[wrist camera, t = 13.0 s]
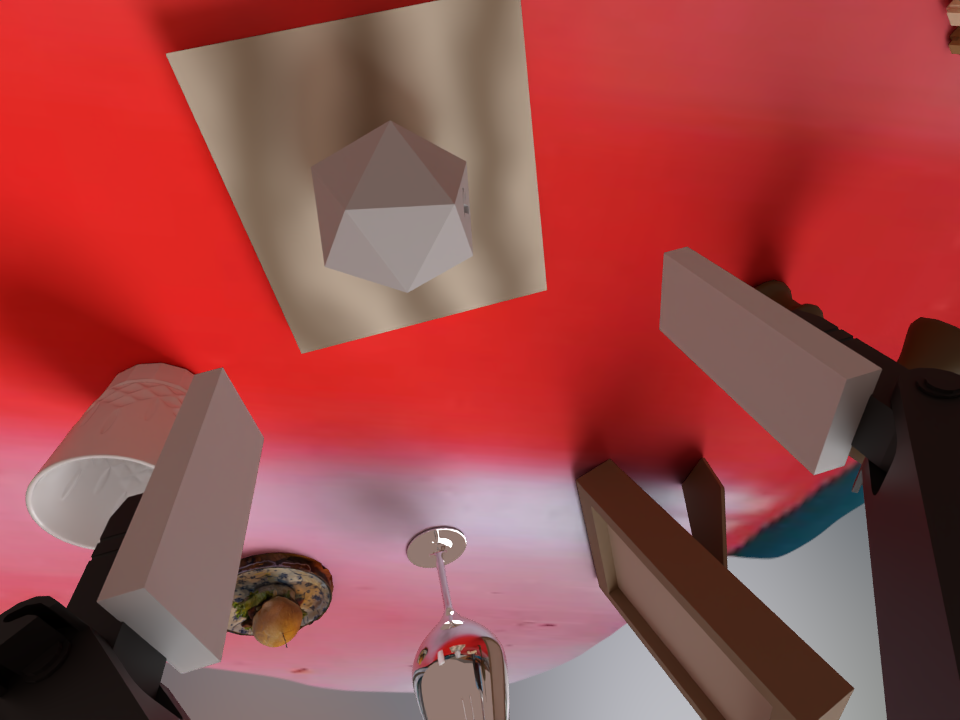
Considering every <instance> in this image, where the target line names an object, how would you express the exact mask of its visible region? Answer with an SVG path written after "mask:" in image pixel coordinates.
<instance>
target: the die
mask: <svg viewBox="0 0 960 720" xmlns="http://www.w3.org/2000/svg"><path fill="white" fill-rule="evenodd" d="M311 171H312V178H313V186H314V193H315V200H316V208H317V215H318V222H319V229H320V237H321V244H322V251H323V259H324V266H325V267H327V268H330V269H333V270H336V271H340V272H343V273H346V274H349V275H352V276H355V277H359V278H362V279H365V280H368V281H371V282H374V283H378V284H381V285H384V286H387V287H390V288H393V289H397V290H400V291H403V292H406V293H408V292H410V291H412V290H413V289H415V288H417V287H419V286H421V285H422V284H424V283H426V282H428V281H429V280H431V279H433V278H435V277H437V276H438V275H440V274H442V273H444V272H445V271H447V270H449V269H451V268H452V267H454V266H456V265H458V264H460V263H461V262H463V261H465V260H467V259H468V258H470V257H472V256H473V246H472V232H471V217H470V203H469V189H468V174H467V162H466V161H465V160H463V159H461V158H459V157H457V156H455V155H453V154H452V153H450V152H448V151H446V150H444V149H442V148H441V147H439V146H437V145H435V144H433V143H431V142H429V141H428V140H426V139H424V138H422V137H420V136H418V135H416V134H415V133H413V132H411V131H409V130H407V129H405V128H404V127H402V126H400V125H398V124H396V123H394V122H392V121H391V120H390V121H388V122H386V123H384V124H383V125H381V126H379V127H378V128H376V129H374V130H373V131H371V132H369V133H368V134H366V135H364V136H363V137H361V138H359V139H357V140H356V141H354V142H352V143H351V144H349V145H347V146H346V147H344V148H342V149H341V150H339V151H337V152H336V153H334V154H332V155H331V156H329V157H327V158H325V159H324V160H322V161H320V162H319V163H317V164H315V165H314V166H312V167H311Z"/></svg>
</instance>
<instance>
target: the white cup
mask: <svg viewBox="0 0 960 720" xmlns="http://www.w3.org/2000/svg"><path fill="white" fill-rule="evenodd" d="M193 377H194V374H192V373H191V372H189V371H188V370H186V369H184V368H180V367H176V366H172V365H169V364H165V363H151V364H137V365H135V366H133V367H131V368H129V369H127V370H125V371H123V372H121V373H119V374H117V376H116V377H115V378H114V380H113V381H112V382H111V384H110V385H109V386H108V388H107V389H106V390H105V391H104V393H103V394H102V395H101V396H100V397H99V398H98V399H97V400H96V401H94V402H93V403H92V405H91V406H90V407H89V408H88V409H87V411H86V412H85V413H84V414H83V415H82V417H81V418H80V420H79V421H78V422H77V423H76V424H75V425H74V426H73V427H72V429H71V430H70V431H69V433H68V434H67V435H66V437H65V438H64V439H63V441H62V442H61V443H60V445H59V446H58V447H57V448H56V450H55V451H54V452H53V454H52V455H51V456H50V457H49V459H48V460H47V461H46V463H45V464H44V465H43V467H42V468H41V469H40V470H39V472H38V473H37V474H36V476H35V477H34V478H33V479H32V481H31V482H30V484H29V486H28V488H27V491H26V506H27V509H28V512H29V514H30V515H31V517H32V518H33V520H34V521H35V522H36V523H37V524H38V525H39V526H40V527H41V528H42V529H43V530H45V531H46V532H48V533H49V534H51V535H52V536H54V537H56V538H58V539H60V540H62V541H64V542H67V543H69V544H72V545H76V546H79V547H83V548H87V549H93V550H95V548H96V546H97V543H100V537H101V535H102V533H103V531H104V529H105V527H106V525H107V523H108V520H109V518H110V517H111V516H112V515H113V514H114V513H115V511H116V510H117V509H118V508H119V507H120V506H121V504H122V503H123V502H124V501H125V500H126V499H127V498H128V497H130V496H134V495H137V494H141V493H144V491H145V488H146V486H147V484H148V481H149V479H150V477H151V474H152V472H153V470H154V467H155V465H156V463H157V460H158V458H159V456H160V454H161V451H162V449H163V447H164V444H165V442H166V440H167V437H168V435H169V433H170V430H171V428H172V426H173V423H174V421H175V419H176V416H177V414H178V412H179V410H180V407H181V405H182V403H183V400H184V398H185V396H186V393H187V391H188V389H189V386H190V384H191V382H192V379H193Z"/></svg>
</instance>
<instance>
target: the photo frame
mask: <svg viewBox="0 0 960 720" xmlns="http://www.w3.org/2000/svg"><path fill="white" fill-rule="evenodd" d="M576 484H577V488H578V493H579V497H580V502H581V506H582V511H583V515H584V520H585V524H586V529H587V533H588V538H589V542H590V547H591V551H592V556H593V560H594V565H595V569H596V574H597V578H598V583H599V587H600V589H601V590H602V591H603V592H604V594H605V595H606V596H607V598H608V599H609V600H610V601H611V603H612V604H613V605H614V607H615V608H616V609H617V610H618V612H619V613H620V614H621V616H622V617H623V618H624V619H625V621H626V622H627V623H628V625H629V626H630V627H631V629H632V630H633V631H634V632H635V633H636V635H637V636H638V638H639V639H640V640H641V641H642V643H643V644H644V645H645V647H646V648H647V649H648V650H649V652H650V653H651V654H652V656H653V657H654V658H655V659H656V661H657V662H658V663H659V665H660V666H661V667H662V668H663V670H664V671H665V672H666V674H667V675H668V676H669V678H670V679H671V680H672V681H673V683H674V684H675V685H676V686H677V688H678V689H679V690H680V692H681V693H682V694H683V696H684V697H685V698H686V699H687V701H688V702H689V703H690V705H691V706H692V707H693V709H694V710H695V711H696V712H697V714H698V715H699V716H700V718H701V719H702V720H839V718H840V716H841V714H842V712H843V710H844V708H845V706H846V704H847V702H848V700H849V698H850V696H851V694H852V692H853V690H854V688H853V687H852V686H851V685H850V684H849V683H848V682H847V681H846V680H845V679H844V678H843V677H842V676H840V675H839V674H838V673H837V672H836V671H835V670H834V669H833V668H832V667H831V666H830V665H829V664H828V663H827V662H825V661H824V660H823V659H822V658H821V657H820V656H819V655H818V654H817V653H816V652H815V651H814V650H813V649H812V648H811V647H810V646H809V645H807V644H806V643H805V642H804V641H803V640H802V639H801V638H800V637H799V636H798V635H797V634H796V633H795V632H794V631H793V630H791V629H790V628H789V627H788V626H787V625H786V624H785V623H784V622H783V621H782V620H781V619H780V618H779V617H778V616H777V615H776V614H775V613H773V612H772V611H771V610H770V609H769V608H768V607H767V606H766V605H765V604H764V603H763V602H762V601H761V600H760V599H759V598H757V597H756V596H755V595H754V594H753V593H752V592H751V591H750V590H749V589H748V588H747V587H746V586H745V585H744V584H743V583H742V582H740V581H739V580H738V579H737V578H736V577H735V576H734V575H733V574H732V573H731V572H730V571H729V570H728V569H727V544H726V517H725V491H724V487H723V485H722V484H721V482H720V480H719V479H718V477H717V476H716V474H715V473H714V471H713V470H712V468H711V467H710V465H709V464H708V462H707V461H706V459H705V458H701V459H700V461H699V462H698V463H697V465H696V466H695V467H694V469H693V470H692V472H691V473H690V474H689V476H688V477H687V479H686V480H685V481H684V483H683V484H682V489H683V493H684V498H685V503H686V508H687V512H688V517H689V522H690V527H691V532H692V535H691V534H689V533H688V532H687V531H686V530H685V529H684V528H683V527H682V526H681V525H680V524H679V523H678V522H677V521H676V520H675V519H673V518H672V517H671V516H670V515H669V514H668V513H667V512H666V511H665V510H664V509H663V508H662V507H661V506H660V505H659V504H658V503H656V502H655V501H654V500H653V499H652V498H651V497H650V496H649V495H648V494H647V493H646V492H645V491H644V490H643V489H642V488H641V487H639V486H638V485H637V484H636V483H635V482H634V481H633V480H632V479H631V478H630V477H629V476H628V475H627V474H626V473H625V472H624V471H622V470H621V469H620V468H619V467H618V466H617V465H616V464H615V463H614V462H613V461H612V460H611V459H609V460H607V461H606V462H604V463H602V464H601V465H599V466H598V467H596V468H594V469H593V470H591V471H589V472H588V473H586V474H585V475H583V476H581V477H580V478H578V479H577V480H576Z"/></svg>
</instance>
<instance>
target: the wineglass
mask: <svg viewBox="0 0 960 720" xmlns="http://www.w3.org/2000/svg"><path fill="white" fill-rule="evenodd" d="M465 548H466V538H465V536H464V535H463V533H462V532H460V531H459V530H457V529H454V528H449V527H439V528H433V529H430V530H427V531H425V532H423V533H421V534H419V535H418V536H416V537H415V538H414V539H413V540H412V541H411V542H410V544H409V546H408V548H407V556H408V559H409V560H410V561H411V562H412V563H413V564H414V565H416V566H419V567H424V568H435V567H437V571H438V576H439V581H440V587H441V593H442V598H443V604H444V613H443V616H442V618H441V620H440V621H439V622H438V624H437V625H436V626H435V627H434V628H433V629H432V630H431V632H430V633H429V634H428V635H427V636H426V638H425V639H424V640H423V642H422V643H421V645H420V647H419V649H418V651H417V653H416V656H415V659H414V663H413V667H412V683H413V688H414V692H415V696H416V699H417V702H418V705H419V708H420V711H421V714H422V716H423V720H509V681H508V667H507V660H506V655H505V652H504V649H503V646H502V644H501V643H500V641H499V640H498V638H497V637H496V636H495V635H494V634H493V633H492V632H491V631H490V630H489V629H488V628H486V627H485V626H483V625H482V624H480V623H478V622H476V621H473V620H471V619H468V618H466V617H463V616H461V615H460V614H458V613H457V612H456V611H455V610H454V609H453V606H452V602H451V597H450V592H449V587H448V582H447V576H446V571H445V565H447V564H449V563H451V562H453V561H454V560H456V559H457V558H459V557H460V556H461V555H462V553H463V552H464V550H465Z"/></svg>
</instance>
